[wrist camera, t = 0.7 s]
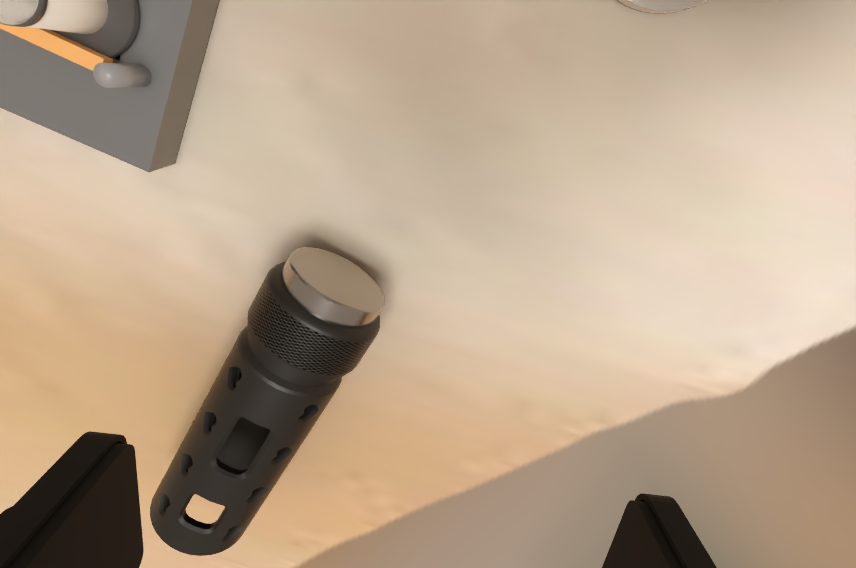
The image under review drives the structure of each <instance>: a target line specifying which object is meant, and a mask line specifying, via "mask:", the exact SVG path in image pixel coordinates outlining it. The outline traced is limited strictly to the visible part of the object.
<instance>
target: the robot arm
mask: <svg viewBox="0 0 856 568" xmlns="http://www.w3.org/2000/svg"><path fill="white" fill-rule="evenodd" d="M618 1H620V2H621V3H623V4H624V5H626V6H628V7H631V8H634V9H636V10H639V11H642V12H650V13H669V12H677V11H680V10H684V9H688V8H691V7H694V6H696V5H699V4H701V3H704V2H706V1H708V0H618ZM142 556H143V539H142V527H141V516H140V504H139V493H138V481H137V470H136V459H135V449H134V447H133V445H130V444H127V442H126V438H125V437H124V436H123V435H116V434H107V433H99V432H87V433H85V434H84V435H82V436H81V437H80V438H79V439H78V440H77V441H76V442H75V443H74V444H73V445H72V446H71V447H70V448H69V449H68V450H67V451H66V452H65V453H64V454H63V455H62V456H61V457H60V459H59V460H58V461H57V462H56V463H55V464H54V465H53V466H52V467H51V468H50V469H49V470H48V471H47V472H46V473H45V474H44V475H43V476H42V477H41V478H40V479H39V480H38V481H37V482H36V483H35V484H34V485H33V486H32V487H31V488H30V489H29V490H28V491H27V492H26V493H25V495H24V496H23V497H22V498H21V499H20V500H19V501H18V502H17V503H16V504H15V505H14V506H12V507H10V508H8V509H6V510H5V511H3V512H2V513H1V514H0V568H139V566H140V564H141V560H142ZM602 568H716V566H715V564H714V563H713V561H712V559H711V558H710V556H709V554H708V553H707V551H706V550H705V548H704V546H703V545H702V543H701V541H700V540H699V538H698V536H697V535H696V533H695V531H694V530H693V528H692V527H691V525H690V523H689V521H688V520H687V518H686V517H685V515H684V513H683V512H682V510H681V508H680V507H679V505H678V504H677V502H676V501H675V500H674V499H673V498H671V497H668V496H659V495H651V494H639V495H638V496H637V498H636V499H635V501H629V503H628V504H627V506H626V509H625V511H624V514H623V516H622V519H621V521H620V524H619V526H618V529H617V531H616V534H615V537H614V539H613V541H612V544H611V546H610V549H609V552H608V554H607V557H606V559H605V562H604V564H603V567H602Z"/></svg>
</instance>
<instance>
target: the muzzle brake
mask: <svg viewBox="0 0 856 568" xmlns="http://www.w3.org/2000/svg"><path fill="white" fill-rule="evenodd" d="M383 306H384V295H383V292H382V291H381V289H380V287H379V286H378V285H377V283H376V282H375V281H374V280H373V279H372V278H371V277H370V276H369V275H368V274H367V273H366V272H365V271H363V270H362V269H361V268H360V267H358V266H357V265H355V264H354V263H352V262H351V261H349V260H347V259H345V258H343V257H341V256H339V255H337V254H335V253H332V252H329V251H326V250H323V249H319V248H313V247H301V248H298V249H295V250H294V251H293V252H291V253H290V255H289V257H288V259H287V261H285V262H282V263H280V264H278V265H276V266H275V267H273V268H272V269H271V270H270V271H269V273H268V274H267V276H266V278H265V280H264V282H263V284H262V286H261V288H260V289H259V291H258V293H257V295H256V297H255V299H254V301H253V303H252V305H251V307H250V309H249V311H248V326H247V327H245V328H244V330H243V331H242V332H241V333H240V335H239V337H238V339H237V341H236V343H235V345H234V347H233V349H232V351H231V352H230V354H229V356H228V358H227V360H226V361H225V363H224V365H223V367H222V369H221V371H220V373H219V375H218V376H217V378H216V380H215V382H214V384H213V386H212V388H211V390H210V392H209V394H208V395H207V397H206V399H205V401H204V403H203V405H202V406H201V408H200V410H199V412H198V414H197V416H196V418H195V420H194V421H193V423H192V425H191V427H190V429H189V431H188V433H187V435H186V437H185V439H184V440H183V442H182V444H181V446H180V448H179V449H178V451H177V453H176V455H175V457H174V459H173V461H172V463H171V465H170V467H169V468H168V470H167V472H166V474H165V476H164V478H163V479H162V481H161V483H160V485H159V487H158V489H157V491H156V493H155V495H154V497H153V499H152V502H151V507H150V517H151V521H152V525H153V527H154V529H155V531H156V533H157V534H158V535H159V537H160V538H161V539H162V540H163V541H164V542H165V543H166V544H168V545H169V546H170V547H172V548H174V549H176V550H178V551H180V552H183V553H186V554H190V555H199V556H202V555H212V554H216V553H219V552H222V551H224V550H226V549H228V548H230V547H231V546H232V545H233V544H235V543H236V542H237V541H238V539H239V538H240V537H241V536H242V535H243V533H244V531H245V530H246V528H247V527H248V525H249V524H250V522H251V521H252V519H253V518H254V516H255V515H256V513H257V511H258V510H259V508H260V507H261V505H262V504H263V502H264V501H265V499H266V498H267V496H268V495H269V493H270V491H271V490H272V488H273V487H274V485H275V484H276V482H277V481H278V479H279V478H280V476H281V475H282V473H283V472H284V470H285V468H286V467H287V465H288V464H289V462H290V461H291V459H292V458H293V456H294V455H295V453H296V452H297V450H298V448H299V447H300V445H301V444H302V442H303V441H304V439H305V438H306V436H307V435H308V433H309V432H310V430H311V429H312V427H313V425H314V424H315V422H316V421H317V419H318V418H319V416H320V415H321V413H322V412H323V410H324V409H325V407H326V405H327V404H328V402H329V401H330V399H331V398H332V396H333V395H334V393H335V392H336V390H337V389H338V387H339V385H340V383H341V378H342V376H344V375H346V374H347V373H349V372H351V371H352V370H353V369H354V368H355V367H356V366H357V364H358V363H359V361H360V360H361V358H362V357H363V355H364V354H365V352H366V351H367V349H368V348H369V346H370V345H371V343H372V342H373V340H374V339H375V337H376V335H377V333H378V331H379V328H380V317H379V313H380V311H381V310H382V308H383ZM194 494H198V495H199V496H201V497H203V498H205V499H207V500H209V501H211V502H214V503H217V504H220V505H224V506H225V509H224V510H223V512H222V513H221V515H220V517H219V518H218V520H217V521H216V522H214V523H212V524H205V523H202V522H199V521H196V520H194V519H193V518H191V517H189V516H188V515H187V514H186V510H185V509H186V507H187V505H188V503H189V501H190V500H191V498H192V496H193V495H194Z"/></svg>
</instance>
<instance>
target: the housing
mask: <svg viewBox="0 0 856 568" xmlns="http://www.w3.org/2000/svg"><path fill="white" fill-rule="evenodd" d="M137 1H138V6H139V27H138V31H137V35H136V37H135V39H134V41H133V43H132V44H131V46H130V47H129V48H128V49H127V50H126V51H125V52H124V53H122V54H121V55H119V56H117V57H115V58H112V59H113V62H112V63H98V64H97V65H95V67H94V69H93V71H92V70H90V69H87V68H85V67H83V66H81V65H79V64H77V63H74V62H72V61H70V60H68V59H66V58H64V57H61V56H59V55H57V54H55V53H53V52H50V51H48V50H46V49H44V48H42V47H40V46H37V45H35V44H33V43H31V42H29V41H27V40H24V39H22V38H20V37H18V36H16V35H14V34H11V33H9V32H7V31H5V30H3V29H0V108H3V109H5V110H7V111H9V112H12V113H14V114H16V115H19V116H21V117H23V118H26V119H28V120H30V121H32V122H35V123H37V124H39V125H42V126H44V127H46V128H49V129H51V130H53V131H55V132H58V133H60V134H62V135H65V136H67V137H69V138H72V139H74V140H76V141H78V142H81V143H83V144H85V145H88V146H90V147H92V148H95V149H97V150H99V151H101V152H104V153H106V154H108V155H111V156H113V157H115V158H118V159H120V160H122V161H124V162H127V163H129V164H131V165H134V166H136V167H138V168H141V169H143V170H145V171H147V172H151V171H154V170H157V169H160V168H163V167H166V166H169V165H172V164H175V162H176V158H177V154H178V151H179V147H180V143H181V140H182V136H183V132H184V129H185V125H186V121H187V118H188V114H189V110H190V107H191V103H192V99H193V96H194V92H195V88H196V85H197V81H198V77H199V74H200V70H201V66H202V63H203V59H204V55H205V52H206V48H207V44H208V41H209V37H210V33H211V30H212V26H213V22H214V19H215V15H216V11H217V8H218V4H219V0H137Z"/></svg>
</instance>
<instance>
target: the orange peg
mask: <svg viewBox="0 0 856 568" xmlns="http://www.w3.org/2000/svg"><path fill="white" fill-rule="evenodd" d="M0 29H3V30H5V31H7V32H9V33H11V34H14V35H16V36H18V37H20V38H22V39H24V40H27V41H29V42H31V43H33V44H35V45H37V46H40V47H42V48H44V49H46V50H48V51H50V52H53V53H55V54H57V55H59V56H61V57H64V58H66V59H68V60H70V61H72V62H74V63H77V64H79V65H81V66H83V67H85V68H87V69H90V70H92V71H93V69H94V67H95V65H97V64H98V63H112V62H113V59H111V58H109V57H107V56H105V55H103V54H100V53H98V52H96V51H94V50H92V49H90V48H88V47H85V46H83V45H81V44H79V43H77V42H75V41H73V40H70V39H68V38H66V37H64V36H62V35H60V34H58V33H55V32H53V31H51V30H48V29H40V28H33V27H17V26H9V25H4V24H1V23H0Z"/></svg>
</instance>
